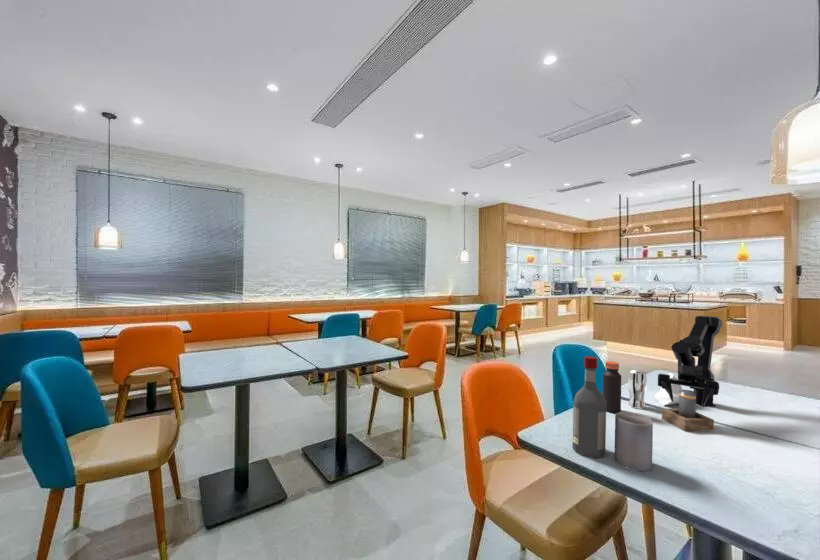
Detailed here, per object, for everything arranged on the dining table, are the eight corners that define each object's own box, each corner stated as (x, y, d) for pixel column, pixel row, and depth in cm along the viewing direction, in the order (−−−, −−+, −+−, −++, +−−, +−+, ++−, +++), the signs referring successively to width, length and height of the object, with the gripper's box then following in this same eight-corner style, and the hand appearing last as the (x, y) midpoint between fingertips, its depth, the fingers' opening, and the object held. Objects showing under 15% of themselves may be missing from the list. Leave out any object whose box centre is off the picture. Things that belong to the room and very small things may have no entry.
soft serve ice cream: (646, 404, 161) (641, 372, 165) (670, 404, 166) (665, 372, 169) (674, 407, 150) (668, 372, 153) (699, 406, 154) (693, 372, 158)
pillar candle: (617, 451, 114) (618, 405, 114) (654, 462, 108) (655, 412, 108) (611, 464, 107) (612, 414, 106) (650, 476, 100) (651, 423, 100)
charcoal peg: (675, 420, 138) (675, 389, 138) (687, 420, 138) (688, 389, 138) (686, 426, 133) (686, 393, 133) (699, 425, 133) (699, 393, 133)
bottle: (616, 407, 152) (616, 361, 152) (624, 413, 146) (624, 365, 145) (599, 407, 153) (600, 360, 153) (606, 413, 146) (607, 364, 146)
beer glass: (645, 410, 149) (646, 375, 149) (626, 406, 154) (627, 372, 153) (647, 406, 155) (647, 371, 155) (628, 402, 159) (629, 368, 159)
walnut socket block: (661, 419, 141) (662, 408, 141) (688, 418, 142) (688, 408, 142) (685, 431, 130) (685, 420, 130) (713, 430, 131) (713, 419, 131)
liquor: (605, 448, 116) (607, 356, 116) (604, 460, 108) (606, 362, 108) (574, 441, 121) (576, 353, 120) (571, 452, 113) (573, 358, 113)
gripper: (658, 353, 144) (657, 387, 135) (719, 360, 133) (722, 397, 125) (658, 368, 151) (657, 402, 142) (716, 376, 140) (719, 413, 131)
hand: (687, 403), depth 135 cm, fingers open, 9 cm apart
